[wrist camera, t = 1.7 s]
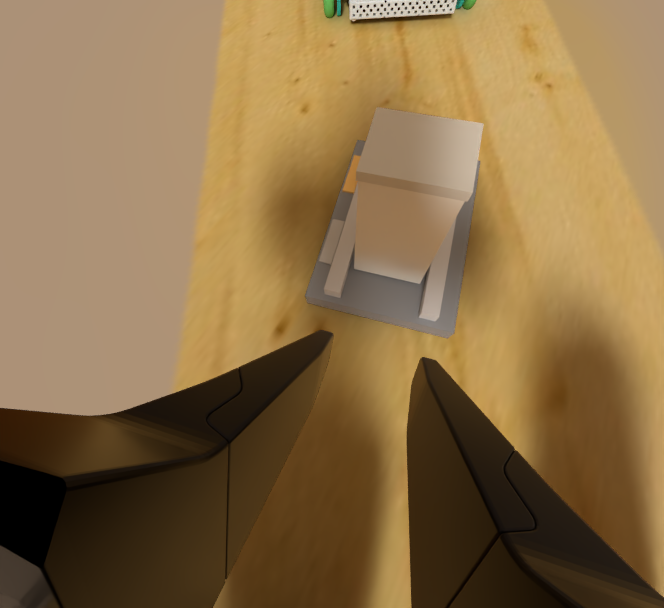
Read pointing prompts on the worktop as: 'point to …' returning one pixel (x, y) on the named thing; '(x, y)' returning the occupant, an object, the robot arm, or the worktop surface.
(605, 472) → the worktop surface
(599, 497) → the worktop surface
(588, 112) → the worktop surface
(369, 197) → the slider tab
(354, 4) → the robot kit
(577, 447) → the worktop surface
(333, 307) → the switch base
